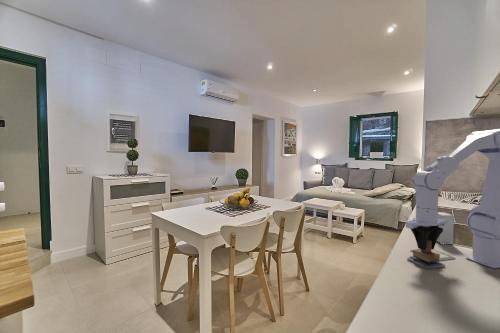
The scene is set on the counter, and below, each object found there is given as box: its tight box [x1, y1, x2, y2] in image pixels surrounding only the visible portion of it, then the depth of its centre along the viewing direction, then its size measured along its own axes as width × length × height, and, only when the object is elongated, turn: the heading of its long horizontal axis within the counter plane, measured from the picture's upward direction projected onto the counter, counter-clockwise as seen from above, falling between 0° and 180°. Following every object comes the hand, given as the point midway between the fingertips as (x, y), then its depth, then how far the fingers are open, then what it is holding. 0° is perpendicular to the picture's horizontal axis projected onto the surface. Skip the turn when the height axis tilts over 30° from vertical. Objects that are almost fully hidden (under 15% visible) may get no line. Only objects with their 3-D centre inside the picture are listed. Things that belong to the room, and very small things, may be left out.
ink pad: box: [406, 255, 446, 270], centre depth 75 cm, size 7×7×1 cm
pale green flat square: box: [410, 248, 456, 262], centre depth 82 cm, size 9×9×1 cm
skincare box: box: [436, 211, 454, 245], centre depth 95 cm, size 6×4×12 cm
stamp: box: [412, 239, 440, 263], centre depth 75 cm, size 5×5×6 cm
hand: (425, 248), depth 75 cm, fingers closed on stamp, 3 cm apart
